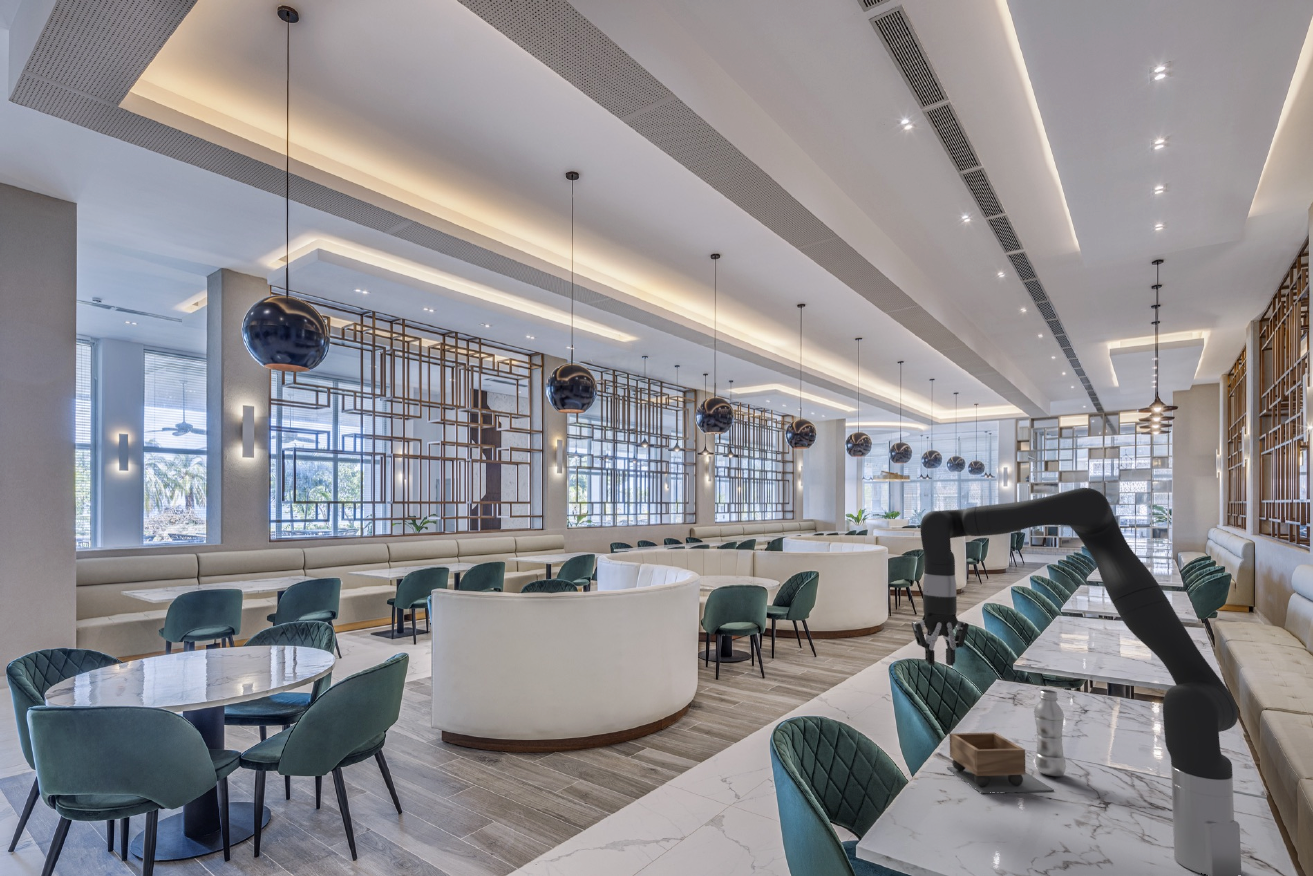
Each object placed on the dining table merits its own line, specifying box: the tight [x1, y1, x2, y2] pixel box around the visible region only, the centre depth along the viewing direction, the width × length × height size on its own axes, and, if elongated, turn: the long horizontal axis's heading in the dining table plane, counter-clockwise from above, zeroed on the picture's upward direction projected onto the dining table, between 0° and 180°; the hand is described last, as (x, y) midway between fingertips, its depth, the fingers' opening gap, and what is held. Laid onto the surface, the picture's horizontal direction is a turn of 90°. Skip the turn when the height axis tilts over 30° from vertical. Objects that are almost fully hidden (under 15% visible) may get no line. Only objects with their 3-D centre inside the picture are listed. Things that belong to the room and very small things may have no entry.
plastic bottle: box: [1033, 688, 1067, 777], centre depth 176 cm, size 6×7×20 cm
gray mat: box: [946, 766, 1055, 794], centre depth 172 cm, size 15×18×1 cm
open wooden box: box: [949, 732, 1027, 787], centre depth 172 cm, size 12×12×8 cm
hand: (940, 664), depth 172 cm, fingers open, 4 cm apart
